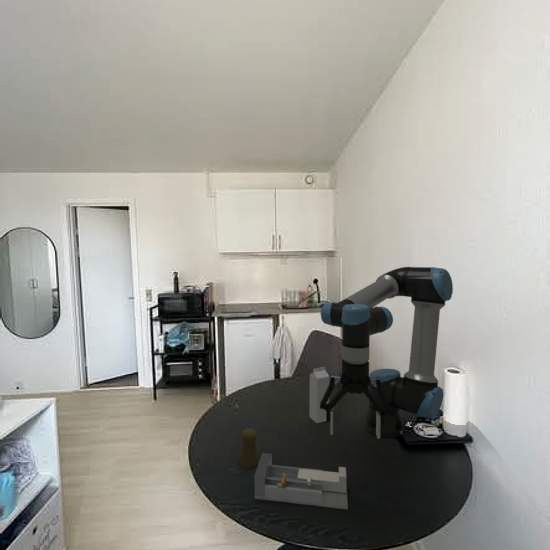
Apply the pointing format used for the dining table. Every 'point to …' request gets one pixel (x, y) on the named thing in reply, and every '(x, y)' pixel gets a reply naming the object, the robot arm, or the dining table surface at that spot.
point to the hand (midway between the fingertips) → (354, 434)
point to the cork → (249, 449)
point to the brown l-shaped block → (283, 480)
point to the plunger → (325, 479)
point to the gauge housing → (292, 487)
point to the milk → (318, 393)
